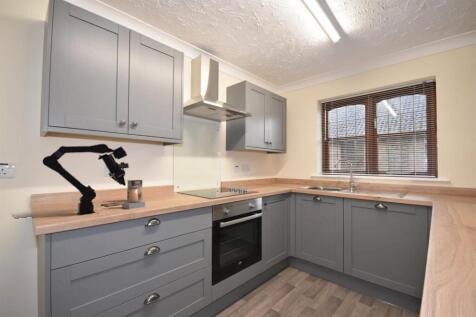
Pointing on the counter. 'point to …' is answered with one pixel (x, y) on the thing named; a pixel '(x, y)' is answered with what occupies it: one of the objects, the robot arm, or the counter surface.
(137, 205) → the holder
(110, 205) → the trivet
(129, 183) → the coffee box
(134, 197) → the jar
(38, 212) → the counter surface
